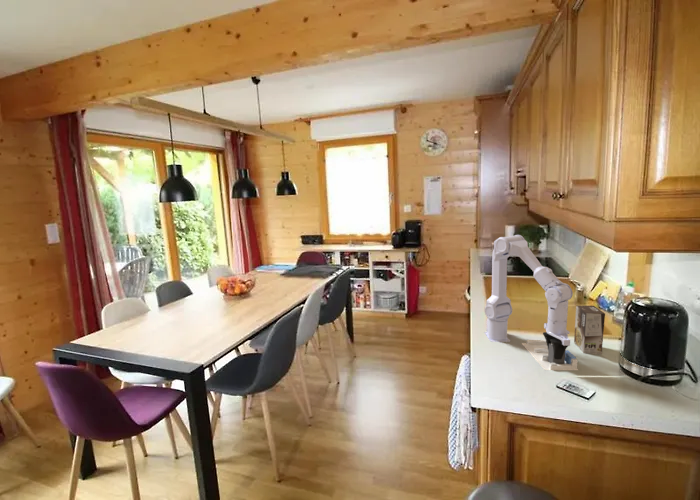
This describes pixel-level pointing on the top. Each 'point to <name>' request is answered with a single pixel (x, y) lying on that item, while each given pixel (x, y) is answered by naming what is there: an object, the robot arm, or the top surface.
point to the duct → (541, 355)
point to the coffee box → (589, 329)
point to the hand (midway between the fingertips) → (555, 355)
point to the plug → (551, 356)
